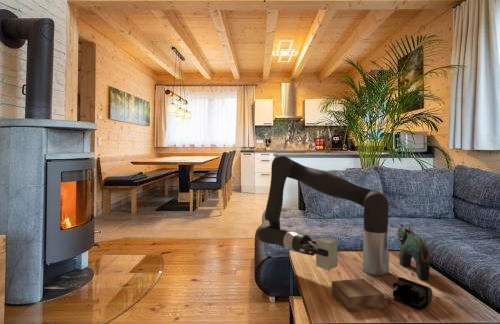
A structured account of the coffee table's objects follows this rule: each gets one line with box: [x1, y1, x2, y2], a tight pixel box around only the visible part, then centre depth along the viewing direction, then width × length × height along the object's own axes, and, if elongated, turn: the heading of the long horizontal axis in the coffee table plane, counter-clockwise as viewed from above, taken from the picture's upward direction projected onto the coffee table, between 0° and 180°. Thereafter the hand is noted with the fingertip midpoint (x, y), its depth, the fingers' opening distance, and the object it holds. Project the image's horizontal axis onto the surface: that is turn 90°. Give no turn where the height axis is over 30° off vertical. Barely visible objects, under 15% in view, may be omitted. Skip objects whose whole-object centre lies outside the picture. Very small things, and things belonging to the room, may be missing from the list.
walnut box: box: [331, 278, 385, 313], centre depth 103 cm, size 12×12×5 cm
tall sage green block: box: [315, 237, 338, 271], centre depth 116 cm, size 6×6×10 cm
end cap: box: [392, 276, 433, 312], centre depth 102 cm, size 10×7×7 cm
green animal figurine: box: [396, 222, 431, 282], centre depth 128 cm, size 20×6×20 cm, turn 178°
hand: (332, 251), depth 114 cm, fingers closed on tall sage green block, 5 cm apart
